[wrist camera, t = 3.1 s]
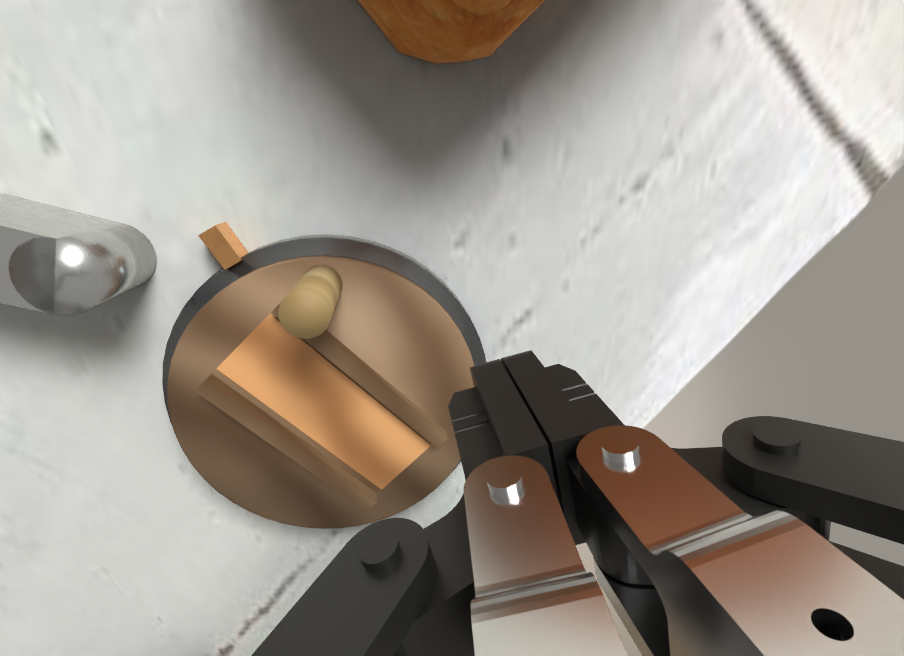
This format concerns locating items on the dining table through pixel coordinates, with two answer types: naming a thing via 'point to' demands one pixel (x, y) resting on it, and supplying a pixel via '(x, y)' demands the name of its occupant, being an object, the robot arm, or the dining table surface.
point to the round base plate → (242, 262)
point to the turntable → (320, 391)
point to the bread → (448, 26)
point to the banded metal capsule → (66, 257)
